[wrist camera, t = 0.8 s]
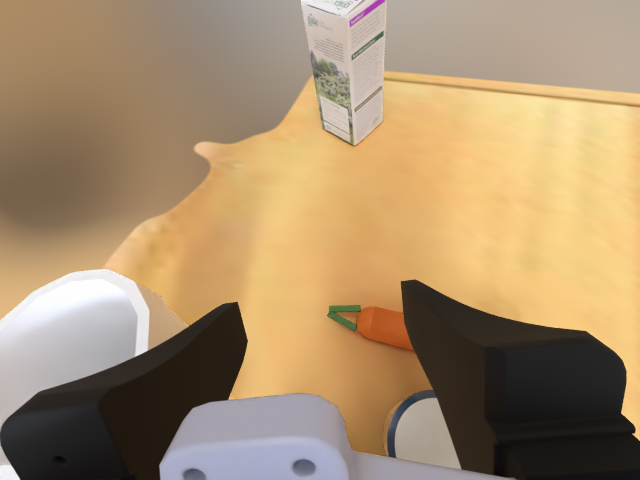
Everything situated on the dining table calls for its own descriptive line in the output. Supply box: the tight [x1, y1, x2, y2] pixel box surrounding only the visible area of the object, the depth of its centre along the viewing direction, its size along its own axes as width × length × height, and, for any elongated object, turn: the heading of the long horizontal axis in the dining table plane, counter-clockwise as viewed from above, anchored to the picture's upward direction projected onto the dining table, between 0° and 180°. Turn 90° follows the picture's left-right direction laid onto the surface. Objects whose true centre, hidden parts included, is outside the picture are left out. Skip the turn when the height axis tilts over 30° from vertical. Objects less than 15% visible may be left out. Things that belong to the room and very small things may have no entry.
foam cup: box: [0, 269, 189, 480], centre depth 20 cm, size 10×9×13 cm
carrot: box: [327, 305, 414, 350], centre depth 23 cm, size 16×3×3 cm, turn 74°
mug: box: [383, 390, 461, 470], centre depth 18 cm, size 6×7×7 cm
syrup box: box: [301, 0, 387, 146], centre depth 32 cm, size 6×6×14 cm
